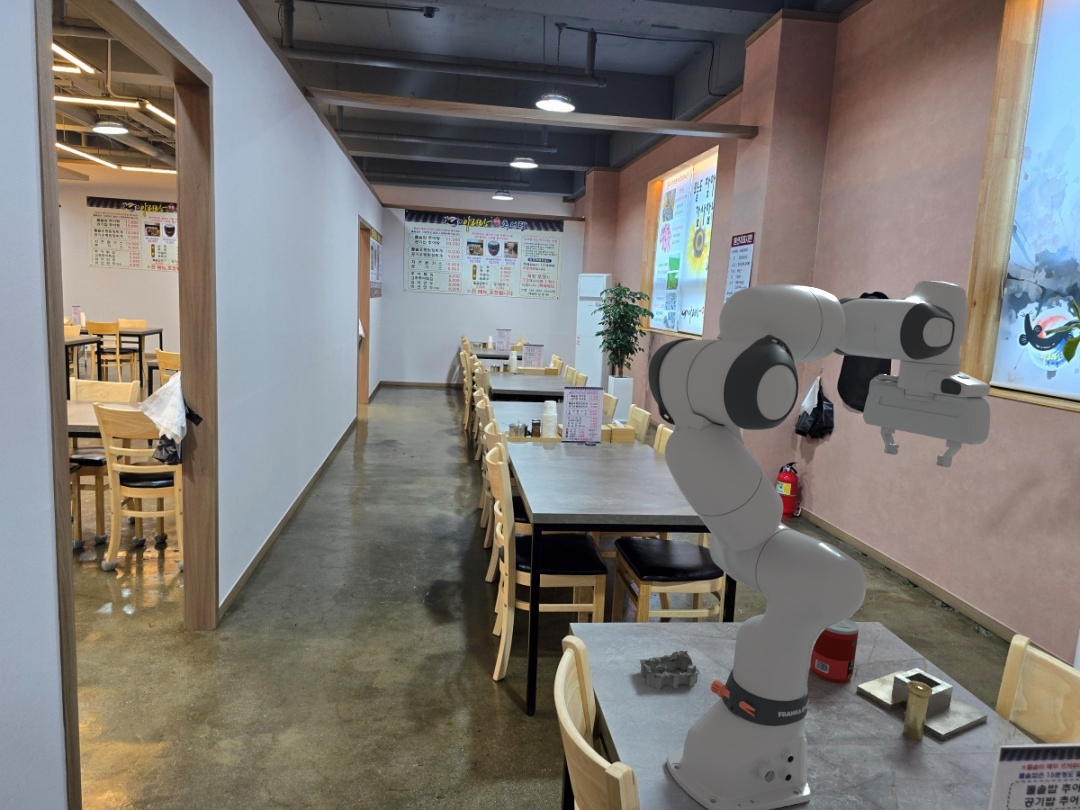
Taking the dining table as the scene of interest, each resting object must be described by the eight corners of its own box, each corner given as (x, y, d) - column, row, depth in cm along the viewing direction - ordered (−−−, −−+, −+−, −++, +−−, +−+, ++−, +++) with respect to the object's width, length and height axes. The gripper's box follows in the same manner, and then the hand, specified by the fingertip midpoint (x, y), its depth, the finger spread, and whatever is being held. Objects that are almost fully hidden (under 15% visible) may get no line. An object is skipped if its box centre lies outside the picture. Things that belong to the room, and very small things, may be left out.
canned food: (856, 686, 134) (863, 633, 132) (813, 680, 136) (819, 628, 134) (847, 666, 142) (853, 616, 140) (806, 660, 143) (812, 611, 141)
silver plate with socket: (941, 741, 118) (945, 714, 117) (856, 691, 132) (859, 667, 132) (986, 720, 125) (990, 695, 124) (901, 675, 139) (904, 652, 138)
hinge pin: (916, 743, 117) (924, 695, 116) (895, 731, 120) (902, 683, 119) (929, 738, 119) (937, 690, 117) (909, 725, 122) (916, 679, 121)
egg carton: (687, 668, 138) (689, 649, 137) (701, 689, 131) (703, 669, 130) (636, 669, 136) (638, 650, 136) (648, 690, 129) (649, 670, 128)
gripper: (860, 372, 123) (851, 448, 125) (978, 388, 105) (965, 475, 107) (882, 372, 126) (873, 446, 128) (1001, 387, 108) (987, 472, 110)
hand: (916, 459), depth 117 cm, fingers open, 8 cm apart
